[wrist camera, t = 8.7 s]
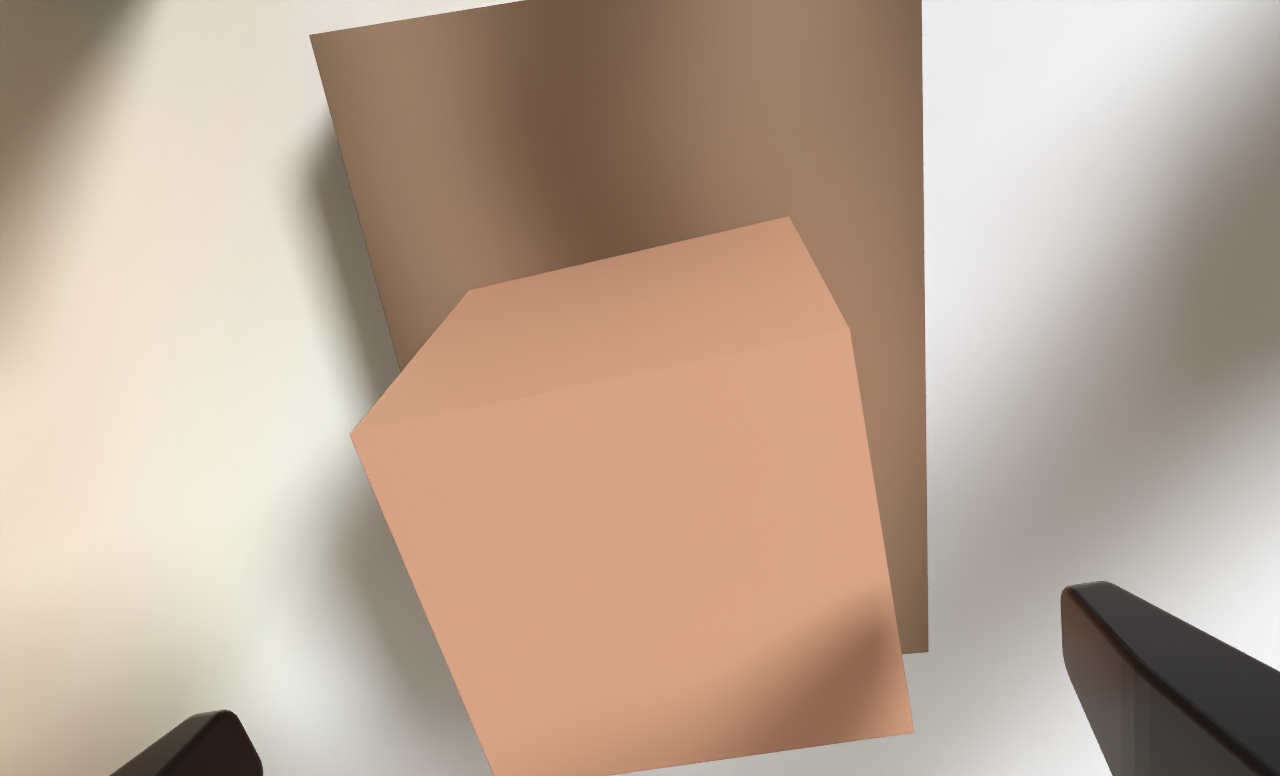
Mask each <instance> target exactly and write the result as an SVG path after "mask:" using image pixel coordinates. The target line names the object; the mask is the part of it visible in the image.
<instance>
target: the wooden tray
mask: <svg viewBox="0 0 1280 776" xmlns="http://www.w3.org/2000/svg"><path fill="white" fill-rule="evenodd" d="M309 36H310V40H311V44H312V47H313V51H314V55H315V58H316V62H317V66H318V69H319V73H320V77H321V80H322V84H323V88H324V92H325V95H326V99H327V103H328V106H329V110H330V114H331V117H332V121H333V125H334V128H335V132H336V136H337V139H338V143H339V147H340V150H341V154H342V158H343V161H344V165H345V169H346V172H347V176H348V180H349V184H350V187H351V191H352V195H353V198H354V202H355V206H356V209H357V213H358V217H359V220H360V224H361V228H362V231H363V235H364V239H365V242H366V246H367V250H368V253H369V257H370V261H371V264H372V268H373V272H374V275H375V279H376V283H377V287H378V290H379V294H380V298H381V301H382V305H383V309H384V312H385V316H386V320H387V323H388V327H389V331H390V334H391V338H392V342H393V345H394V349H395V353H396V356H397V360H398V364H399V367H400V371H401V372H402V371H403V369H404V368H405V367H406V366H407V365H408V363H409V362H410V361H411V360H412V358H413V357H414V356H415V355H416V354H417V352H418V351H419V350H420V349H421V348H422V346H423V345H424V344H425V343H426V342H427V340H428V339H429V338H430V337H431V336H432V334H433V333H434V332H435V331H436V329H437V328H438V327H439V326H440V325H441V323H442V322H443V321H444V320H445V319H446V317H447V316H448V315H449V314H450V313H451V311H452V310H453V309H454V308H455V307H456V305H457V304H458V303H459V302H460V300H461V299H462V298H463V297H464V296H465V294H466V293H467V292H468V291H469V290H473V289H477V288H482V287H486V286H490V285H495V284H499V283H503V282H507V281H512V280H516V279H520V278H525V277H529V276H533V275H538V274H542V273H546V272H551V271H555V270H559V269H563V268H568V267H572V266H576V265H581V264H585V263H589V262H594V261H598V260H602V259H607V258H611V257H615V256H620V255H624V254H628V253H632V252H637V251H641V250H645V249H650V248H654V247H658V246H663V245H667V244H671V243H676V242H680V241H684V240H688V239H693V238H697V237H701V236H706V235H710V234H714V233H719V232H723V231H727V230H732V229H736V228H740V227H745V226H749V225H753V224H757V223H762V222H766V221H770V220H775V219H779V218H783V217H788V216H789V217H790V219H791V221H792V223H793V225H794V227H795V228H796V230H797V232H798V234H799V236H800V238H801V240H802V241H803V243H804V245H805V247H806V249H807V251H808V253H809V254H810V256H811V258H812V260H813V262H814V264H815V266H816V267H817V269H818V271H819V273H820V275H821V277H822V279H823V280H824V282H825V284H826V286H827V288H828V290H829V292H830V293H831V295H832V297H833V299H834V301H835V303H836V305H837V306H838V308H839V310H840V312H841V314H842V316H843V318H844V319H845V321H846V323H847V325H848V327H849V329H850V333H851V340H852V346H853V352H854V359H855V365H856V371H857V377H858V384H859V390H860V396H861V403H862V409H863V415H864V421H865V428H866V434H867V440H868V446H869V453H870V459H871V465H872V472H873V478H874V484H875V490H876V497H877V503H878V509H879V515H880V522H881V528H882V534H883V541H884V547H885V553H886V559H887V566H888V572H889V578H890V584H891V591H892V597H893V603H894V610H895V616H896V622H897V628H898V635H899V641H900V647H901V654H909V653H922V652H928V575H927V479H926V383H925V286H924V190H923V94H922V0H524V1H518V2H512V3H506V4H499V5H493V6H487V7H481V8H474V9H468V10H462V11H456V12H450V13H443V14H437V15H431V16H425V17H419V18H412V19H406V20H400V21H394V22H387V23H381V24H375V25H369V26H363V27H356V28H350V29H344V30H338V31H331V32H325V33H319V34H313V35H309Z"/></svg>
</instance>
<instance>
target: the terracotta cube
mask: <svg viewBox="0 0 1280 776" xmlns="http://www.w3.org/2000/svg"><path fill="white" fill-rule="evenodd" d="M350 437H351V439H352V442H353V444H354V446H355V449H356V451H357V453H358V456H359V458H360V460H361V463H362V465H363V468H364V470H365V472H366V475H367V477H368V479H369V482H370V484H371V486H372V489H373V491H374V493H375V496H376V498H377V501H378V503H379V505H380V508H381V510H382V512H383V515H384V517H385V519H386V522H387V524H388V526H389V529H390V531H391V534H392V536H393V538H394V541H395V543H396V545H397V548H398V550H399V552H400V555H401V557H402V559H403V562H404V564H405V567H406V569H407V571H408V574H409V576H410V578H411V581H412V583H413V585H414V588H415V590H416V592H417V595H418V597H419V600H420V602H421V604H422V607H423V609H424V611H425V614H426V616H427V618H428V621H429V623H430V626H431V628H432V630H433V633H434V635H435V637H436V640H437V642H438V644H439V647H440V649H441V651H442V654H443V656H444V659H445V661H446V663H447V666H448V668H449V670H450V673H451V675H452V677H453V680H454V682H455V684H456V687H457V689H458V692H459V694H460V696H461V699H462V701H463V703H464V706H465V708H466V710H467V713H468V715H469V717H470V720H471V722H472V725H473V727H474V729H475V732H476V734H477V736H478V739H479V741H480V743H481V746H482V748H483V750H484V753H485V755H486V758H487V760H488V762H489V765H490V767H491V769H492V772H493V774H494V776H609V775H616V774H623V773H630V772H637V771H644V770H651V769H658V768H665V767H672V766H680V765H687V764H694V763H701V762H708V761H715V760H722V759H729V758H736V757H743V756H751V755H758V754H765V753H772V752H779V751H786V750H793V749H800V748H807V747H815V746H822V745H829V744H836V743H843V742H850V741H857V740H864V739H871V738H878V737H886V736H893V735H900V734H907V733H914V729H913V723H912V716H911V710H910V704H909V697H908V691H907V685H906V679H905V672H904V666H903V660H902V654H901V647H900V641H899V635H898V628H897V622H896V616H895V610H894V603H893V597H892V591H891V584H890V578H889V572H888V566H887V559H886V553H885V547H884V541H883V534H882V528H881V522H880V515H879V509H878V503H877V497H876V490H875V484H874V478H873V472H872V465H871V459H870V453H869V446H868V440H867V434H866V428H865V421H864V415H863V409H862V403H861V396H860V390H859V384H858V377H857V371H856V365H855V359H854V352H853V346H852V340H851V333H850V329H849V327H848V325H847V323H846V321H845V319H844V318H843V316H842V314H841V312H840V310H839V308H838V306H837V305H836V303H835V301H834V299H833V297H832V295H831V293H830V292H829V290H828V288H827V286H826V284H825V282H824V280H823V279H822V277H821V275H820V273H819V271H818V269H817V267H816V266H815V264H814V262H813V260H812V258H811V256H810V254H809V253H808V251H807V249H806V247H805V245H804V243H803V241H802V240H801V238H800V236H799V234H798V232H797V230H796V228H795V227H794V225H793V223H792V221H791V219H790V217H789V216H788V217H783V218H779V219H775V220H770V221H766V222H762V223H757V224H753V225H749V226H745V227H740V228H736V229H732V230H727V231H723V232H719V233H714V234H710V235H706V236H701V237H697V238H693V239H688V240H684V241H680V242H676V243H671V244H667V245H663V246H658V247H654V248H650V249H645V250H641V251H637V252H632V253H628V254H624V255H620V256H615V257H611V258H607V259H602V260H598V261H594V262H589V263H585V264H581V265H576V266H572V267H568V268H563V269H559V270H555V271H551V272H546V273H542V274H538V275H533V276H529V277H525V278H520V279H516V280H512V281H507V282H503V283H499V284H495V285H490V286H486V287H482V288H477V289H473V290H469V291H468V292H467V293H466V294H465V296H464V297H463V298H462V299H461V300H460V302H459V303H458V304H457V305H456V307H455V308H454V309H453V310H452V311H451V313H450V314H449V315H448V316H447V317H446V319H445V320H444V321H443V322H442V323H441V325H440V326H439V327H438V328H437V329H436V331H435V332H434V333H433V334H432V336H431V337H430V338H429V339H428V340H427V342H426V343H425V344H424V345H423V346H422V348H421V349H420V350H419V351H418V352H417V354H416V355H415V356H414V357H413V358H412V360H411V361H410V362H409V363H408V365H407V366H406V367H405V368H404V369H403V371H402V372H401V373H400V374H399V375H398V377H397V378H396V379H395V380H394V381H393V383H392V384H391V385H390V386H389V387H388V389H387V390H386V391H385V392H384V394H383V395H382V396H381V397H380V398H379V400H378V401H377V402H376V403H375V404H374V406H373V407H372V408H371V409H370V410H369V412H368V413H367V414H366V415H365V416H364V418H363V419H362V420H361V421H360V423H359V424H358V425H357V426H356V427H355V429H354V430H353V431H352V432H351V433H350Z"/></svg>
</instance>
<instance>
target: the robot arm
mask: <svg viewBox="0 0 1280 776" xmlns="http://www.w3.org/2000/svg"><path fill="white" fill-rule="evenodd" d="M1061 624H1062V648H1063V657H1064V662H1065V666H1066V669H1067V672H1068V675H1069V677H1070V680H1071V682H1072V684H1073V687H1074V689H1075V691H1076V694H1077V696H1078V698H1079V700H1080V703H1081V705H1082V707H1083V710H1084V712H1085V714H1086V716H1087V719H1088V721H1089V723H1090V725H1091V728H1092V730H1093V732H1094V735H1095V737H1096V739H1097V741H1098V744H1099V746H1100V748H1101V750H1102V753H1103V755H1104V757H1105V760H1106V762H1107V764H1108V766H1109V769H1110V771H1111V773H1112V775H1113V776H1280V671H1278V670H1276V669H1274V668H1272V667H1270V666H1268V665H1266V664H1264V663H1263V662H1261V661H1259V660H1257V659H1255V658H1253V657H1251V656H1249V655H1247V654H1245V653H1244V652H1242V651H1240V650H1238V649H1236V648H1234V647H1232V646H1230V645H1228V644H1226V643H1225V642H1223V641H1221V640H1219V639H1217V638H1215V637H1213V636H1211V635H1209V634H1207V633H1206V632H1204V631H1202V630H1200V629H1198V628H1196V627H1194V626H1192V625H1190V624H1188V623H1187V622H1185V621H1183V620H1181V619H1179V618H1177V617H1175V616H1173V615H1171V614H1170V613H1168V612H1166V611H1164V610H1162V609H1160V608H1158V607H1156V606H1154V605H1152V604H1151V603H1149V602H1147V601H1145V600H1143V599H1141V598H1139V597H1137V596H1135V595H1133V594H1132V593H1130V592H1128V591H1126V590H1124V589H1122V588H1120V587H1118V586H1116V585H1114V584H1112V583H1110V582H1106V581H1097V582H1090V583H1083V584H1076V585H1070V586H1067V587H1066V588H1065V589H1064V590H1063V591H1062V594H1061ZM110 776H263V767H262V762H261V760H260V757H259V756H258V754H257V752H256V750H255V748H254V746H253V744H252V742H251V740H250V739H249V737H248V735H247V733H246V731H245V729H244V727H243V725H242V723H241V722H240V720H239V718H238V717H237V715H236V714H234V713H233V712H231V711H229V710H218V711H211V712H205V713H199V714H195V715H193V716H191V717H189V718H188V719H186V720H185V721H183V722H182V723H181V724H179V725H178V726H177V727H175V728H174V729H173V730H171V731H170V732H168V733H167V734H166V735H164V736H163V737H162V738H160V739H159V740H158V741H156V742H155V743H153V744H152V745H151V746H149V747H148V748H147V749H145V750H144V751H143V752H141V753H140V754H138V755H137V756H136V757H134V758H133V759H132V760H130V761H129V762H127V763H126V764H125V765H123V766H122V767H121V768H119V769H118V770H117V771H115V772H114V773H112V774H111V775H110Z"/></svg>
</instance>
